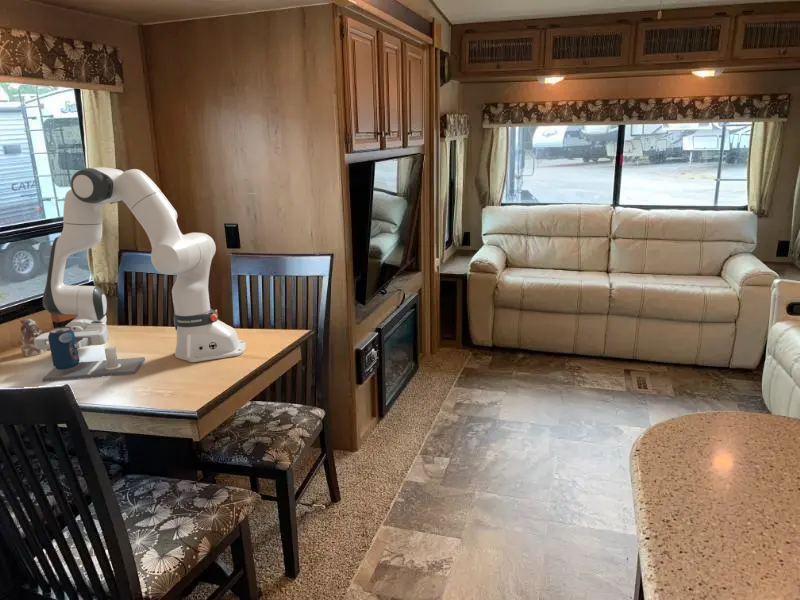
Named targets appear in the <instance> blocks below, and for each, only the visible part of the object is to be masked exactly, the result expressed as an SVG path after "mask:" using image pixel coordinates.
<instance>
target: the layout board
mask: <svg viewBox="0 0 800 600" xmlns="http://www.w3.org/2000/svg"><path fill="white" fill-rule="evenodd" d="M104 354H105V359H106V360H104V359H99V360H93V361H92V360H91V361H81V362H80V361H79V363H78V365H77V367H75V368H72V369H69V370H57V369H56V368H55V367H53V368H52V369H51V370H50V371H49V372H48V373H47V374H46V375H44V376H43V377H42V379H41V381H42V382H43V383H46V382H55V381H68V380H69V379H70V380H79V379H78V378H81V379H91V377H93V378H102V376H105V377H114V376H125V375H127V376H128V375H136V373H137V371H138V370H139V369H140V368H141V367H142V366H143V364H144V362H145V361H146V358H145V357H144V356H141V357H129V358H118V355H117V350H116V347H115V346H109V347H106V348H104Z"/></svg>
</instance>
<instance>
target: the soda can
mask: <svg viewBox="0 0 800 600" xmlns="http://www.w3.org/2000/svg"><path fill="white" fill-rule="evenodd" d="M48 332H50V333H49V336H48V339H49V345H50V350H51V351H50V355H51V359H52V364H53V368H56V369H57V370H69V369H72V368H75V367H77V365H78V363H79V362H80V357H79V351H78V349H75V348H74V347H75V346H74V343H75V342H76V340H75V334H74V332H73V331H72V330H71V327H58V328H54V327H53V328H51V329H49V331H48Z"/></svg>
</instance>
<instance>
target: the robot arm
mask: <svg viewBox="0 0 800 600" xmlns="http://www.w3.org/2000/svg"><path fill="white" fill-rule="evenodd" d="M70 188H71V189H69V190H68V191H66V193H65V197H64V203H63V215H62V216H63V217H62V219H63V227H62V231H61V233H60V235H59V236H57V237H55V238H54V239H53V242H52V245H51V249H50V256H49V262H48V268H47V277H46V283H45V287H44V290H43V296H42V306H43V308H44V309H45V310H46V312H48V313H49V314H50V315H51V314H52V315H65V314H74V315H75V316H76V315H77V316H76V318H75V319H74V320H72V321H71V322H70V323H68V324H67V325H66V326H65V327H71V330H72V331H73V332H74V334H75V340H76V342H75V343H74V346H75V347H74V348H75V349H77V350H78V349H81V348H84V347H89V346H90V347H91V346H101V345H105V344H106V343H108V342H109V331H108V326H107V321H108V319H107V313H108V311H109V310H108V309H109V302H108V296H107V294H106V293H105V292H104V291H103V289H102V288H101V287H99V286H96V285H95V286H94V285H70V284H69V285H68V284H65V283H64V278H65V271H66V262H67V259H68V258H69V257H70V256H71V255H74V254H77V253H81V252H84V251H87V250H90V249H92V248H94V247H95V246H97V245H98V244H99V242H100V241H101V240H102V238H103V213H102V212H103V208H104V206H106V204H110V205H111V204H116V203H119V202H123V203H124V204H125V205H126V207H127V208H128V209H129V210H130V212H131V213H132V214H133V216H134V217H135V219H136V220H137V221H138V223H139V224H140V225H141V226H142V228H143V230H144V231H145V233H146V235H147V237H148V240H149V242H150V245H151V252H150V260H151V263H152V266H153V268H155V270H156V271H157V272H158V273H160V274H162V275H176V279H175V282H174V284H173V286H172V288H171V294H172V295H171V296H172V303H173V310H174V313H173V325H174V329H175V332H176V346H175V354H174V356H175V358H177V359H179V360H185V361H187V362H190V363H196V362H198V363H199V362H204V361H210V360H216V359H217V360H218V359H223V358H232V357H238V356H240V355H241V354H243V353H245V351H246V348H247V345H246V344H247V343H246V341H244V340H243V339H239V337H238V333H237V331H236V329H235V328H233V327H232V326H230V325H228V324H226V323H225V322H223V321H221V320H220V319H219V314H218V309H215V310H214V309H213V308H211V304H210V292H209V280H210V278H209V277H210V270H211V264H212V260H213V258H214V256H215V255H216V252H217V251H216V250H217V247H216V242H215V241H214V239H213V237H212V236H210V235H208V234H207V233H205V232H189V233H185V234H183V232H182V231H181V230H180V227H179V225H178V222H177V220H178V213H177V210H176V209H175V208H174V206H173V205H172V204H171V202H170V201H169V199H168V198H167V197H166V196H165V194H164V193H163V192H162V190H161V189H160V188H159V186H158V185H157V184H156V183H155V182H154V181H153V179H152V178H150V177H149V175H147V174H146V173H145V172H144V171H142V170H141V169H137V168H133V169H128V170H125V169H122V168H118V167H103V166H101V167H100V166H98V167H92V168H91V167H86V168H83V169H82V168H81V169H80V170H78V171H76V172H75V173H74V174H73V175H72V177H71V180H70ZM49 333H50V332H49V331H47V332H44V333H41V334H42V335H40V336H38V337H36V338H35V339H34V344H35V347H36V349H38V350H42V349H46V352H51V350H50V345H49V339H48V336H49Z"/></svg>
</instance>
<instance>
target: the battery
mask: <svg viewBox="0 0 800 600" xmlns="http://www.w3.org/2000/svg"><path fill="white" fill-rule="evenodd" d="M50 316H51V323H52V326H53V329H54V328H58V327H65V326H66V325H67V324H68V323H70V322H71V321H72V320H74V319H75V318H76V317H77V316H76V315H74V314H65V315H52V314H51V313H50Z"/></svg>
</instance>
